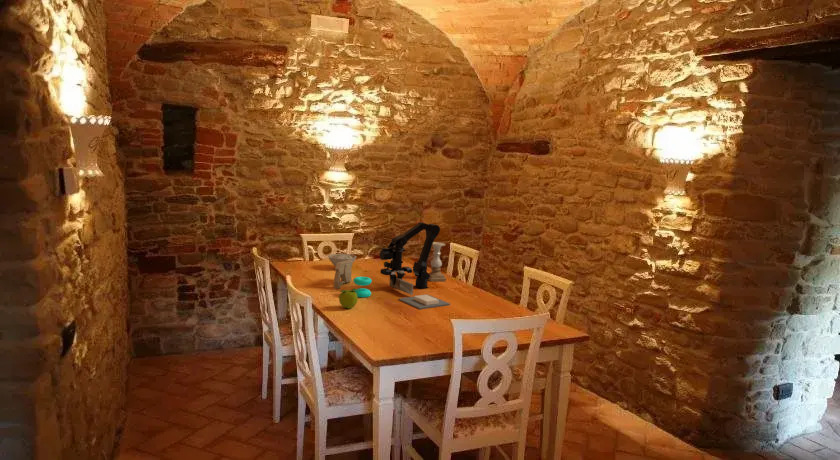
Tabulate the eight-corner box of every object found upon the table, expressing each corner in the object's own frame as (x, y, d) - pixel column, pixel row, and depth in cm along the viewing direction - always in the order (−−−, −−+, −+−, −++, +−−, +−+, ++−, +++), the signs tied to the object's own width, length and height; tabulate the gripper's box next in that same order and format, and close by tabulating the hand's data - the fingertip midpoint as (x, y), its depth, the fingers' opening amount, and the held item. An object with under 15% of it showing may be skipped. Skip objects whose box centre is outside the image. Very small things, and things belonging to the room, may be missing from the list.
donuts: (353, 275, 297) (371, 276, 298) (352, 293, 298) (370, 293, 300) (354, 280, 287) (372, 280, 289) (353, 298, 288) (371, 298, 290)
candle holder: (440, 277, 350) (442, 241, 347) (446, 281, 340) (448, 244, 337) (424, 277, 347) (426, 241, 344) (430, 281, 336) (432, 244, 333)
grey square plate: (428, 296, 301) (428, 294, 301) (450, 305, 285) (450, 303, 285) (398, 299, 289) (398, 298, 289) (419, 309, 273) (419, 307, 273)
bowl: (328, 265, 368) (328, 251, 366) (356, 266, 370) (356, 252, 369) (326, 271, 349) (327, 256, 347) (356, 272, 351) (356, 257, 350)
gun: (338, 289, 304) (339, 263, 303) (332, 289, 305) (334, 263, 304) (351, 284, 328) (353, 260, 327) (346, 283, 329) (348, 259, 328)
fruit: (358, 310, 266) (359, 290, 265) (340, 310, 264) (340, 291, 262) (355, 305, 275) (356, 286, 274) (337, 305, 272) (338, 286, 271)
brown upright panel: (392, 285, 315) (393, 275, 314) (413, 294, 297) (414, 284, 296) (389, 285, 314) (389, 276, 313) (410, 295, 296) (410, 284, 295)
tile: (425, 294, 292) (439, 299, 283) (425, 298, 293) (438, 303, 283) (413, 296, 288) (426, 301, 278) (413, 299, 288) (426, 305, 278)
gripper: (402, 255, 320) (401, 280, 322) (376, 257, 309) (375, 283, 311) (413, 258, 311) (411, 284, 313) (386, 261, 300) (384, 287, 302)
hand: (395, 285), depth 310 cm, fingers closed on brown upright panel, 2 cm apart
